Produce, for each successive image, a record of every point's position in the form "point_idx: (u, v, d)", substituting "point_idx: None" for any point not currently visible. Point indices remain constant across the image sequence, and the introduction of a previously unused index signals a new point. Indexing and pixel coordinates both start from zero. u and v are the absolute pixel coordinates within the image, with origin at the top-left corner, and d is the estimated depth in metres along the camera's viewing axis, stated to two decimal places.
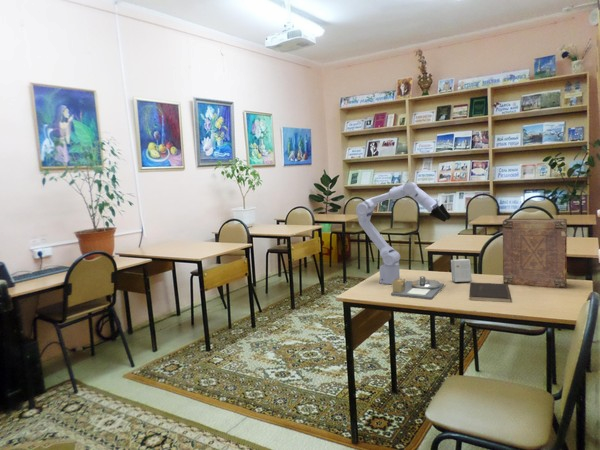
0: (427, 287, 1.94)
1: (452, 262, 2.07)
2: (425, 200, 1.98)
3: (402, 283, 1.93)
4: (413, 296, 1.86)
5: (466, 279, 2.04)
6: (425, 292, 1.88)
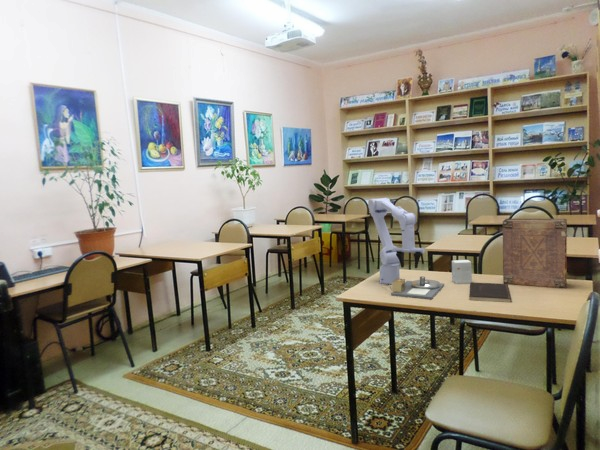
0: (427, 287, 1.94)
1: (453, 264, 2.06)
2: (402, 240, 1.98)
3: (402, 283, 1.93)
4: (413, 296, 1.86)
5: (466, 281, 2.04)
6: (425, 292, 1.88)
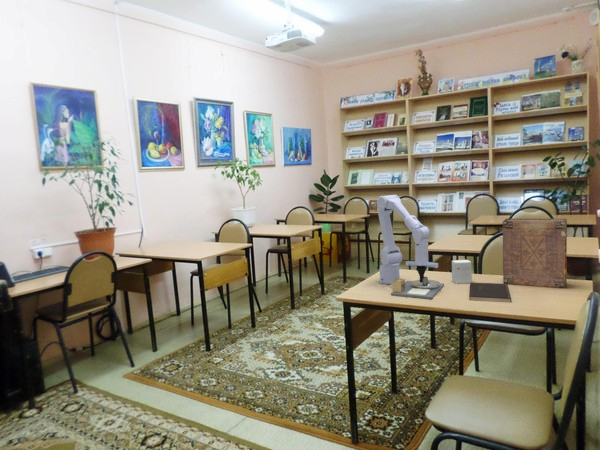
0: (430, 287, 1.94)
1: (453, 264, 2.06)
2: (415, 254, 1.96)
3: (402, 283, 1.93)
4: (413, 296, 1.86)
5: (466, 281, 2.04)
6: (425, 292, 1.88)
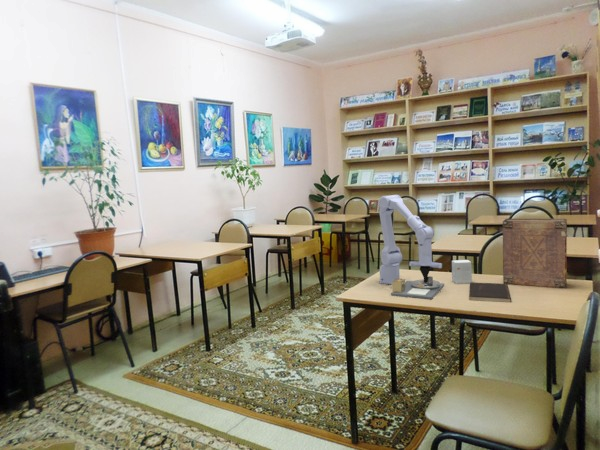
0: (436, 286, 1.95)
1: (453, 264, 2.06)
2: None
3: (402, 283, 1.93)
4: (413, 296, 1.86)
5: (466, 281, 2.04)
6: (425, 292, 1.88)
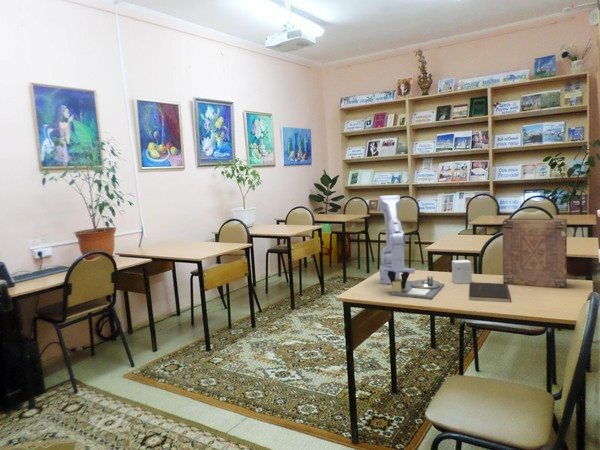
0: (436, 286, 1.95)
1: (453, 264, 2.06)
2: (391, 260, 1.94)
3: None
4: (413, 296, 1.86)
5: (466, 281, 2.04)
6: (425, 292, 1.88)
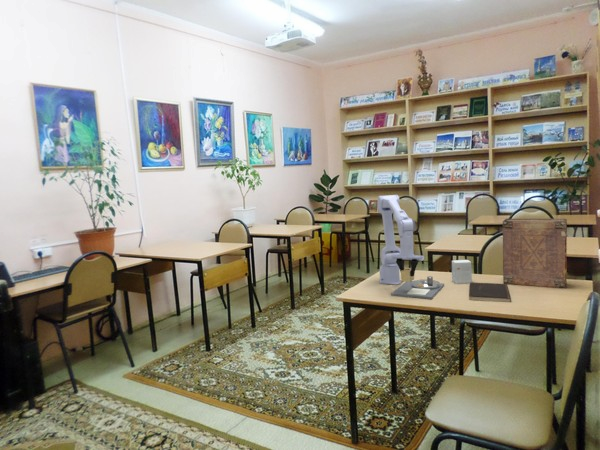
0: (436, 286, 1.95)
1: (453, 264, 2.06)
2: (400, 247, 1.91)
3: None
4: (413, 296, 1.86)
5: (466, 281, 2.04)
6: (425, 292, 1.88)
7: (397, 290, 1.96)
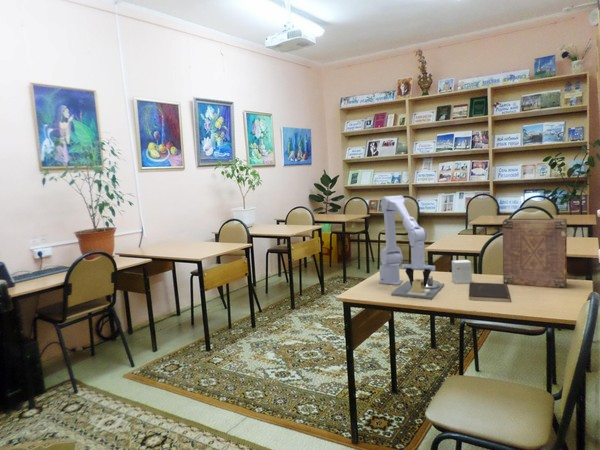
0: (436, 286, 1.95)
1: (453, 264, 2.06)
2: (411, 256, 1.90)
3: (422, 283, 1.88)
4: (413, 296, 1.86)
5: (466, 281, 2.04)
6: (425, 292, 1.88)
7: (397, 290, 1.96)
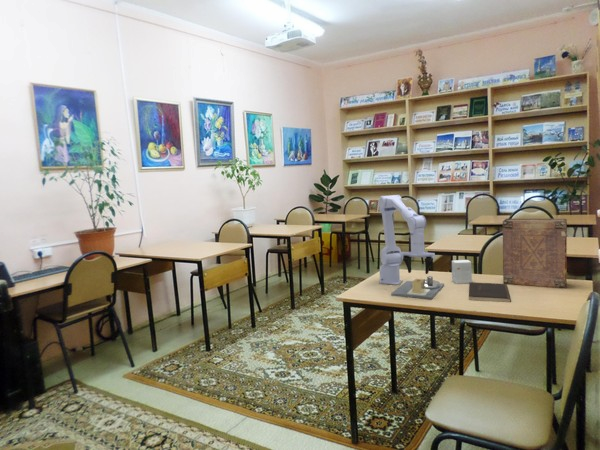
0: (436, 286, 1.95)
1: (453, 264, 2.06)
2: (411, 244, 1.89)
3: (422, 283, 1.88)
4: (413, 296, 1.86)
5: (466, 281, 2.04)
6: (425, 292, 1.88)
7: (397, 290, 1.96)
